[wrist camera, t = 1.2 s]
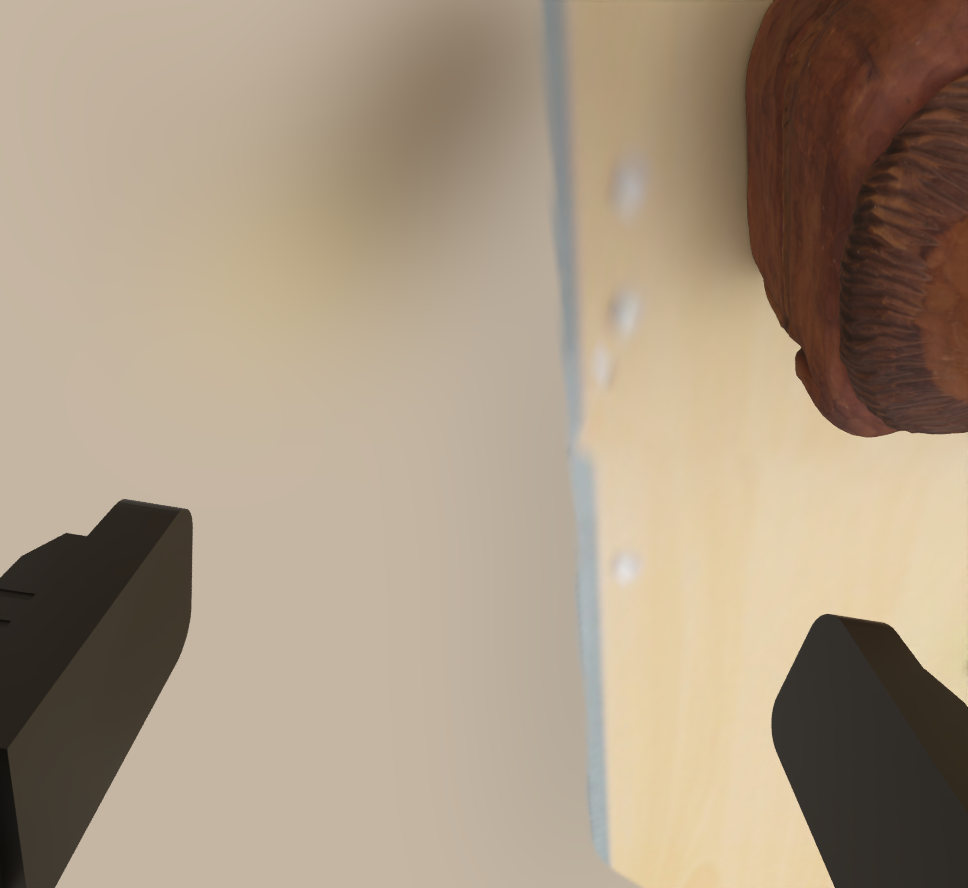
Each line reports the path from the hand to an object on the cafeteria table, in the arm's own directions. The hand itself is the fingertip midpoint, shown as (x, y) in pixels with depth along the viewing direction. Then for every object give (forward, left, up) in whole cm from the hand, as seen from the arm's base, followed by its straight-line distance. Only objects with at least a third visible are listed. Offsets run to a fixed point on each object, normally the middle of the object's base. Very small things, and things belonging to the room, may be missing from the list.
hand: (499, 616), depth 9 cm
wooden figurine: (-7, +7, -26) cm, 28 cm away
